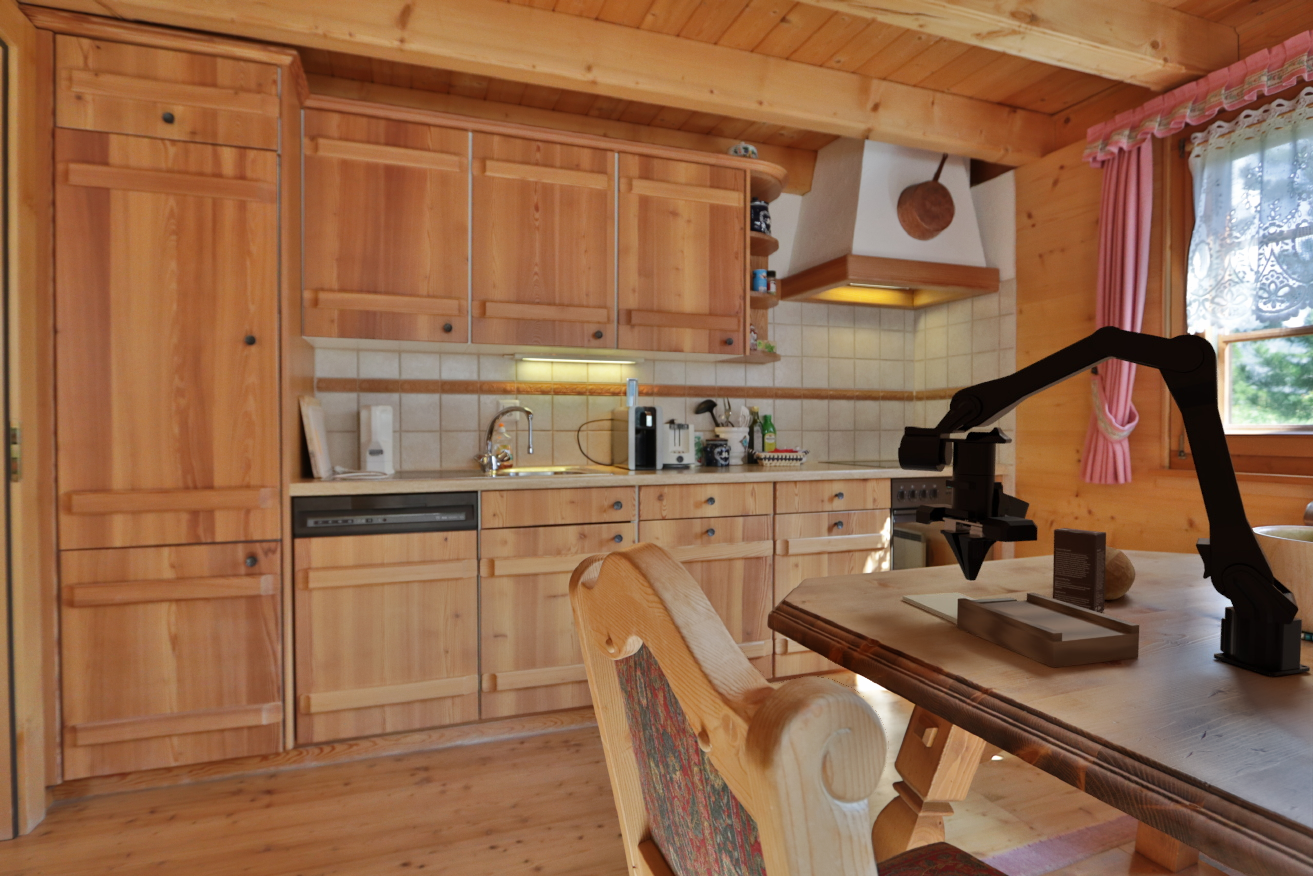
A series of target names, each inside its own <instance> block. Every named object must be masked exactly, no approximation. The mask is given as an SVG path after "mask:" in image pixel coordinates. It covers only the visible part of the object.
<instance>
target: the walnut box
mask: <svg viewBox="0 0 1313 876" xmlns="http://www.w3.org/2000/svg"><path fill="white" fill-rule="evenodd" d="M956 628H957V629H960V630H962V631H964V632H966V633H970V634H972V635H973V636H977V637H979V638H981V639H983V640H985V641H988V642H991V643H993V644H995V645H998V646H1000V647H1003V648H1005V649H1007V650H1010V651H1012V652H1014V653H1017V654H1020V655H1022V656H1025V657H1027V658H1029V659H1031V660H1034V661H1036V662H1038V663H1041V664H1043V665H1046V666H1048V667H1051V668H1061V667H1070V666H1080V665H1087V664H1094V663H1096V664H1097V663H1104V662H1105V663H1106V662H1112V661H1119V660H1121V661H1122V660H1129V659H1137V658H1139V650H1140V648H1139V647H1140V646H1139V645H1140V644H1139V643H1140V624H1138V623H1135V622H1131V621H1127V620H1125V619H1121V618H1118V617H1115V616H1112V615H1108V614H1105V613H1102V612H1101V613H1099V612H1096V611H1092V610H1089V609H1086V608H1082V607H1079V606H1076V605H1073V604H1069V603H1066V602H1063V601H1059V600H1056V599H1053V597H1049V596H1046V595H1042V594H1039V593H1035V592H1027V593H1026V599H1025V600H1017V601H1011V602H999V603H987V604H980V603H977V602H974V601H972V600H969V599H966V598H960V599H958V607H957V624H956Z"/></svg>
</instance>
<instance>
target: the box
mask: <svg viewBox="0 0 1313 876" xmlns="http://www.w3.org/2000/svg"><path fill="white" fill-rule="evenodd" d="M1106 546H1107V532H1106V531H1105V532H1104V531H1097V530H1096V531H1095V530H1085V529H1078V528H1069V527H1062V528H1055V529H1054V530H1053V571H1052V572H1053V573H1052V574H1053V575H1052V598H1053V599H1056V600H1059V601H1063V602H1066V603H1069V604H1073V605H1076V606H1079V607H1082V608H1086V609H1089V610H1092V611H1096V612H1099V613H1102V612H1104V611H1105V601H1106V599H1105V560H1106V558H1105V557H1106Z"/></svg>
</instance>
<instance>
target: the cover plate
mask: <svg viewBox="0 0 1313 876" xmlns="http://www.w3.org/2000/svg"><path fill="white" fill-rule="evenodd" d="M960 598H966V599H969V600H972V601H974V602H977V603H980V604H987V603H999V602H1011V601H1018V599H1017V598H1014V597H999V598H998V597H995V598H983V599H982V598H981V599H980V598H979V599H975V598H973V597H971V596H968V595H965V594H962V593H960V592H957V591H956V592H944V593H943V592H941V593H926V594H909V595H902V601H904V602H906V603H908V604H911V605H913V606H915V607H917V608H920V609H923V610H924V611H927V612H929V613H932V614H933V615H936V616H937V617H941V619H945V620H947V621H949V622H952V623H954V624H956V625H957V607H958V599H960Z"/></svg>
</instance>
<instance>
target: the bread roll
mask: <svg viewBox="0 0 1313 876" xmlns="http://www.w3.org/2000/svg"><path fill="white" fill-rule="evenodd" d="M1105 558H1106V560H1105V601H1106V600H1107V601H1108V600H1117V599H1119V598H1121V597H1123V596H1125V595H1126V594H1127V592H1129V591H1130V589H1131V588H1132V586H1133V584H1134V582H1135V579H1136V569H1135V566H1134V565H1133V563H1132V562H1131V561H1132V560H1131V559H1130V558H1129V557H1128V555H1127V554H1126V553H1124V552H1123V551H1122V550H1121V549H1117V548H1115V547H1111V546H1108V545H1106V557H1105Z"/></svg>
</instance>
